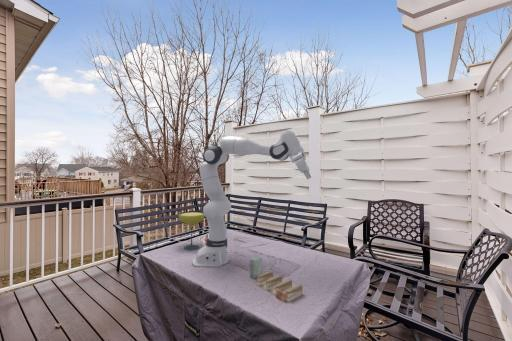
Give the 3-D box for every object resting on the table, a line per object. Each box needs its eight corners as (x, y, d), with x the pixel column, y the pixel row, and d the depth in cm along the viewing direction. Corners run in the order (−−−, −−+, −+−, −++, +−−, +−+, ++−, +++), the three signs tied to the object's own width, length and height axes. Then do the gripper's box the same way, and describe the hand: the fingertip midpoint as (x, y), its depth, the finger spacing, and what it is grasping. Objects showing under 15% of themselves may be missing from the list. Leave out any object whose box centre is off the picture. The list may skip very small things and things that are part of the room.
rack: (255, 285, 126) (255, 276, 126) (270, 279, 134) (271, 270, 134) (286, 303, 110) (286, 293, 110) (302, 294, 118) (302, 285, 118)
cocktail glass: (176, 245, 187) (177, 212, 186) (201, 242, 194) (201, 210, 194) (180, 253, 170) (180, 216, 170) (206, 249, 178) (207, 214, 177)
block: (249, 277, 136) (250, 259, 135) (258, 274, 140) (258, 256, 139) (253, 279, 133) (253, 260, 133) (261, 276, 137) (262, 257, 137)
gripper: (295, 159, 153) (305, 180, 152) (290, 158, 134) (302, 181, 132) (304, 155, 152) (315, 175, 150) (301, 153, 132) (313, 176, 131)
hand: (309, 178), depth 141 cm, fingers open, 8 cm apart
